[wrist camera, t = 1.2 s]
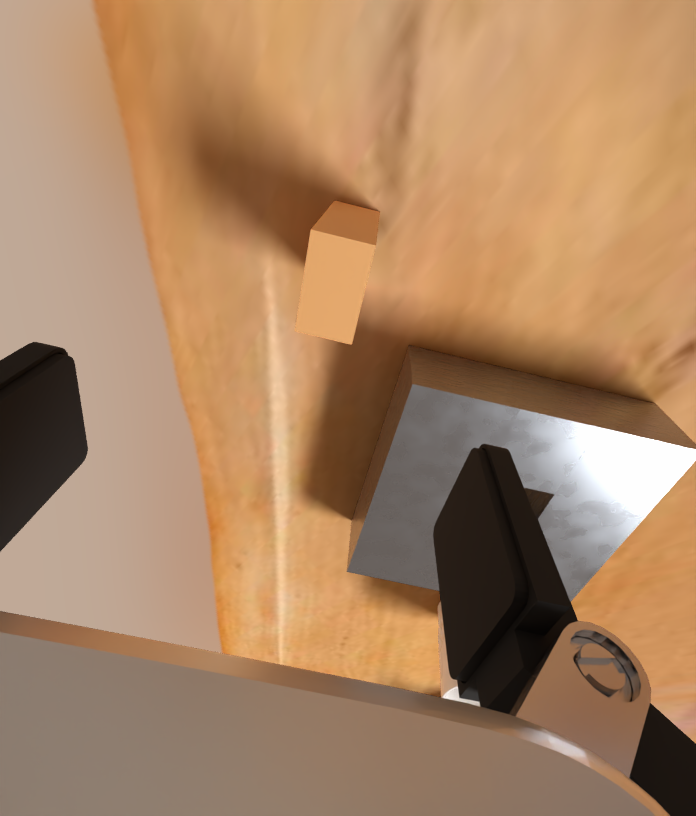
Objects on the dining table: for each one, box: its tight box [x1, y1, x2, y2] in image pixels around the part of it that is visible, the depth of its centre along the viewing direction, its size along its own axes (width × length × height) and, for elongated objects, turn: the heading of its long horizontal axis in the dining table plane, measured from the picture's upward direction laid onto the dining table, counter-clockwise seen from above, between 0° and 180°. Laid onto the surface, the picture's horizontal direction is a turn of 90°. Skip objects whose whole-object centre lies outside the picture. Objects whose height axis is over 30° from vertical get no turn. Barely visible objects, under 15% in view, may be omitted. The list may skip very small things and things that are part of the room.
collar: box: [347, 345, 696, 602], centre depth 36 cm, size 20×20×6 cm
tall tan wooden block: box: [295, 201, 380, 345], centre depth 25 cm, size 3×5×10 cm, turn 168°
